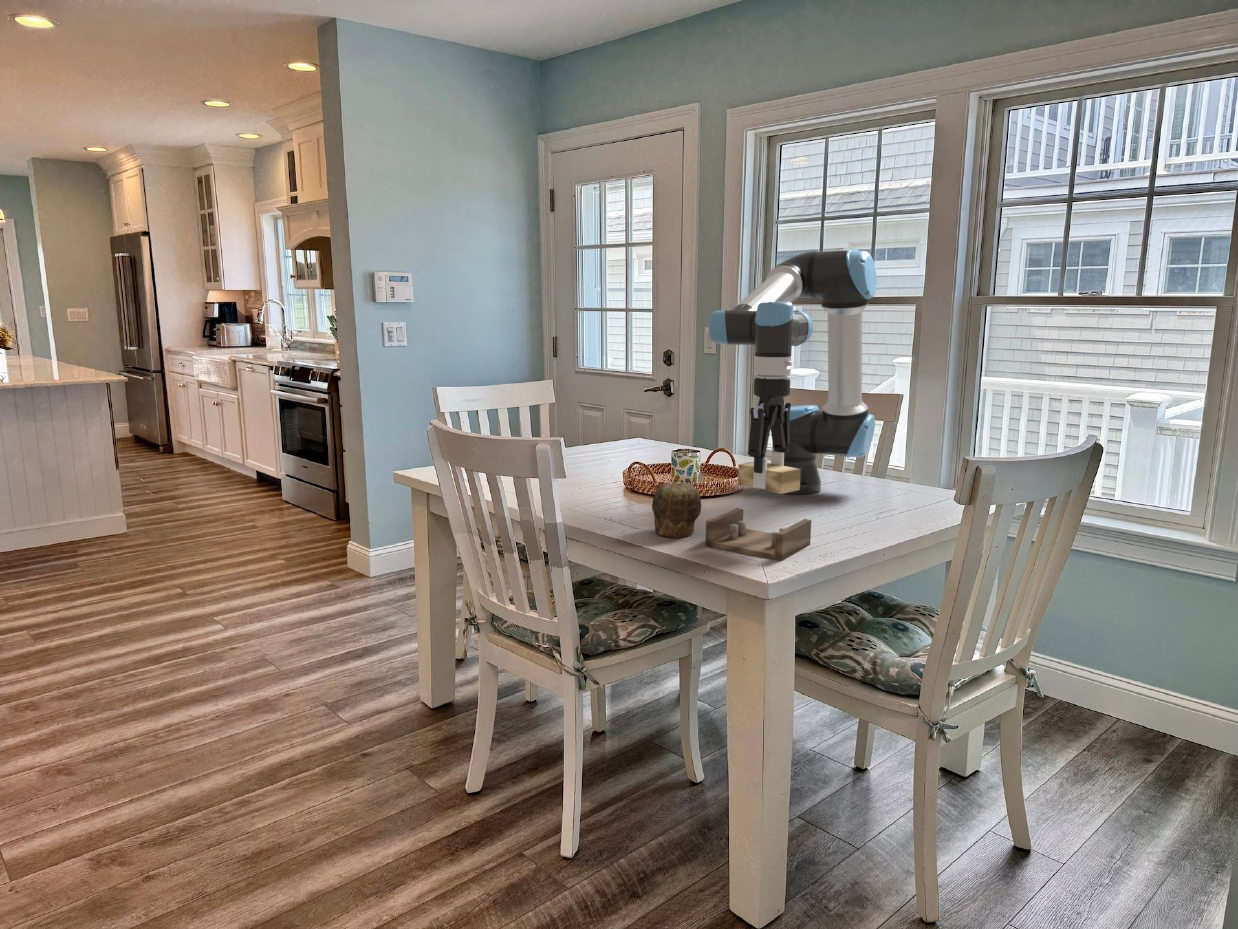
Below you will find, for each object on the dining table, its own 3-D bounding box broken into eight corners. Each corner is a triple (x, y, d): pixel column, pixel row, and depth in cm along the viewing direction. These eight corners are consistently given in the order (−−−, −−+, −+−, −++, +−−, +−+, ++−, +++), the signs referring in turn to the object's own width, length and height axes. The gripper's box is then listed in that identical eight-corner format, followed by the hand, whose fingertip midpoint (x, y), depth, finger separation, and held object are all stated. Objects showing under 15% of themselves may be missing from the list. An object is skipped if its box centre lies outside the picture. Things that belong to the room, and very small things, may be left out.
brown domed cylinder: (665, 543, 182) (666, 489, 179) (644, 530, 192) (644, 479, 189) (709, 537, 186) (710, 485, 184) (686, 525, 196) (686, 475, 194)
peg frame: (705, 545, 180) (706, 521, 179) (736, 531, 191) (737, 507, 190) (782, 560, 169) (783, 534, 168) (810, 544, 180) (811, 520, 179)
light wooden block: (799, 490, 175) (800, 469, 174) (780, 494, 171) (781, 472, 170) (757, 480, 184) (757, 461, 183) (738, 484, 180) (738, 464, 180)
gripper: (765, 381, 163) (761, 495, 168) (809, 374, 179) (805, 479, 183) (732, 379, 168) (729, 490, 172) (778, 372, 183) (774, 475, 188)
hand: (768, 484), depth 178 cm, fingers closed on light wooden block, 7 cm apart
